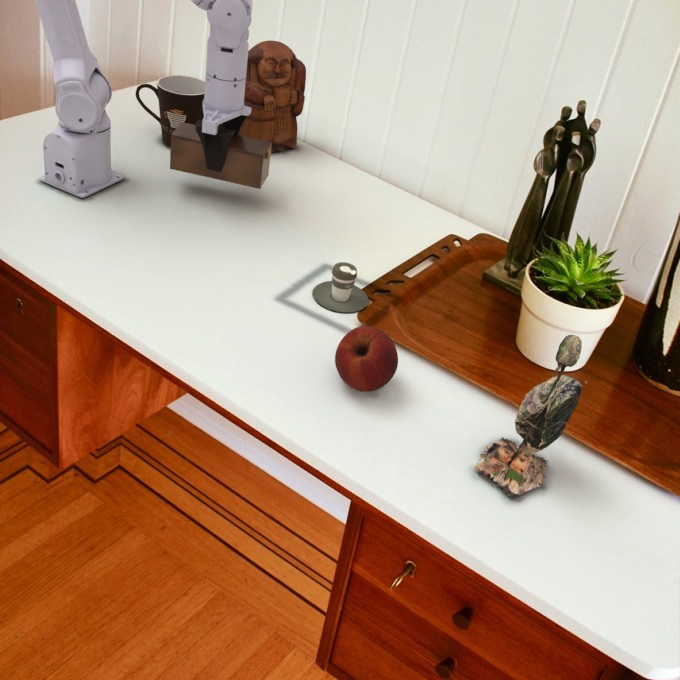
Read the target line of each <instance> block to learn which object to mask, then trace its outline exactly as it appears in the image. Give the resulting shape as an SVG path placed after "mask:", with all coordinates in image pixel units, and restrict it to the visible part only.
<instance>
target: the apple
mask: <svg viewBox="0 0 680 680" xmlns="http://www.w3.org/2000/svg"><path fill="white" fill-rule="evenodd" d="M334 354H335V355H334V364H335V365H334V366H335V368H336V371H337V374H338V376H339V377H340V378H341V380H342V381H343V382H344V384H346V385H347V386H348V387H349V388H351V389H353V390H355V391H358V392H361V393H370V392H374V391H377V390H379V389H381V388H383V387H385V386H387V384H388V383H390V382H391V380H392V379H393V378H394V377H395V374H396V372H397V370H398V365H399V356H398V349H397V347H396V344H395V343H394V341H393V339H392V338H391V337H390V335H388V333H386V332H385V331H384V330H382V329H380V328H378V327H375V326H371V325H362V326H358V327H355V328H353V329H351V330H350V331H348V332H347V333H346V334H345V335H344V336H343V337H342V339H341V340H340V341H339V343H338V345H337V347H336V350H335V353H334Z"/></svg>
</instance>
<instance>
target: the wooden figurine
mask: <svg viewBox="0 0 680 680" xmlns="http://www.w3.org/2000/svg"><path fill="white" fill-rule="evenodd" d="M306 81H307V68H306V65H305V64H304V62H303V61H301V60H300V59H299V58H298V57H297V56H296V54H295V52H294V50H293V49H292V48H290V46H289V45H287V44H285V43H284V42H281V41H278V40H270V39H269V40H264V41H260V42H258V43H256V44H255V45H254V46H252V47H251V48H250V49H248V60H247V72H246V84H245V95H244V105H245V106H248V107H251V108H252V109H251V113H250V115H249V116H247V118H246V119H245V121H244V123H243V125H242V127H241V130H240V132H239V135H241V136H246V137H250V138H255V139H259V140H263V141H268V142H272V145H271V153H277V152H285V150H286V149H296V148H297V143H298V142H297V140H298V120H297V118H298V117H299V116H300V115H302V113H303V111H304V104H305V99H306V96H305V91H306Z"/></svg>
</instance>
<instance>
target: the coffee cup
mask: <svg viewBox="0 0 680 680" xmlns="http://www.w3.org/2000/svg"><path fill="white" fill-rule="evenodd" d="M331 274H332V276H331V280H328V281H323V282H321V283H318V284H317V285H316V286H314V288H313V290H312V297H313V298H314V300H315V301H316V302H317V303H318V304H319V305H320V306H321V307H322V308H325V309H326V310H329V311H331V312H334V313H341V314H352V313H357V312H360V311H362V310H364V309H365V308H366V307H367V306H368V304H369V297H368V295H367V293H366V291H364V290H363V289H362V288H361V287H358V286H357V285H355V283H356V278H357V277H358V269H357V267H356V266H355V265H354V264H353V263H349V262H343V261H342V262H336V263H334V265H333V266H332V270H331Z"/></svg>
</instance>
